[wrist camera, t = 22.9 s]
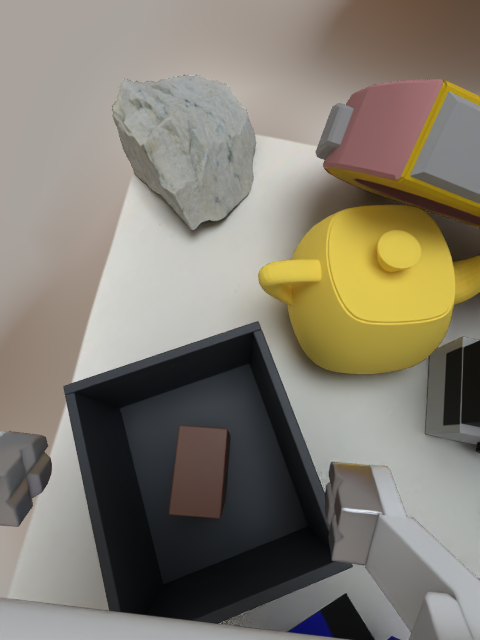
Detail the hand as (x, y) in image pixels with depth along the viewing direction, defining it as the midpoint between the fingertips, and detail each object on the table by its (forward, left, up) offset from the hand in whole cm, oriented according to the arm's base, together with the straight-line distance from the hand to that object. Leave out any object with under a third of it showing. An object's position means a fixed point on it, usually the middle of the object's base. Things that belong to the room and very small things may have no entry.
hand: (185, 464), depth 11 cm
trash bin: (0, +1, -23) cm, 23 cm away
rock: (+30, -7, -24) cm, 39 cm away
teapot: (+8, -17, -23) cm, 30 cm away
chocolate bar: (0, +1, -23) cm, 23 cm away
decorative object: (-1, -19, -14) cm, 24 cm away
